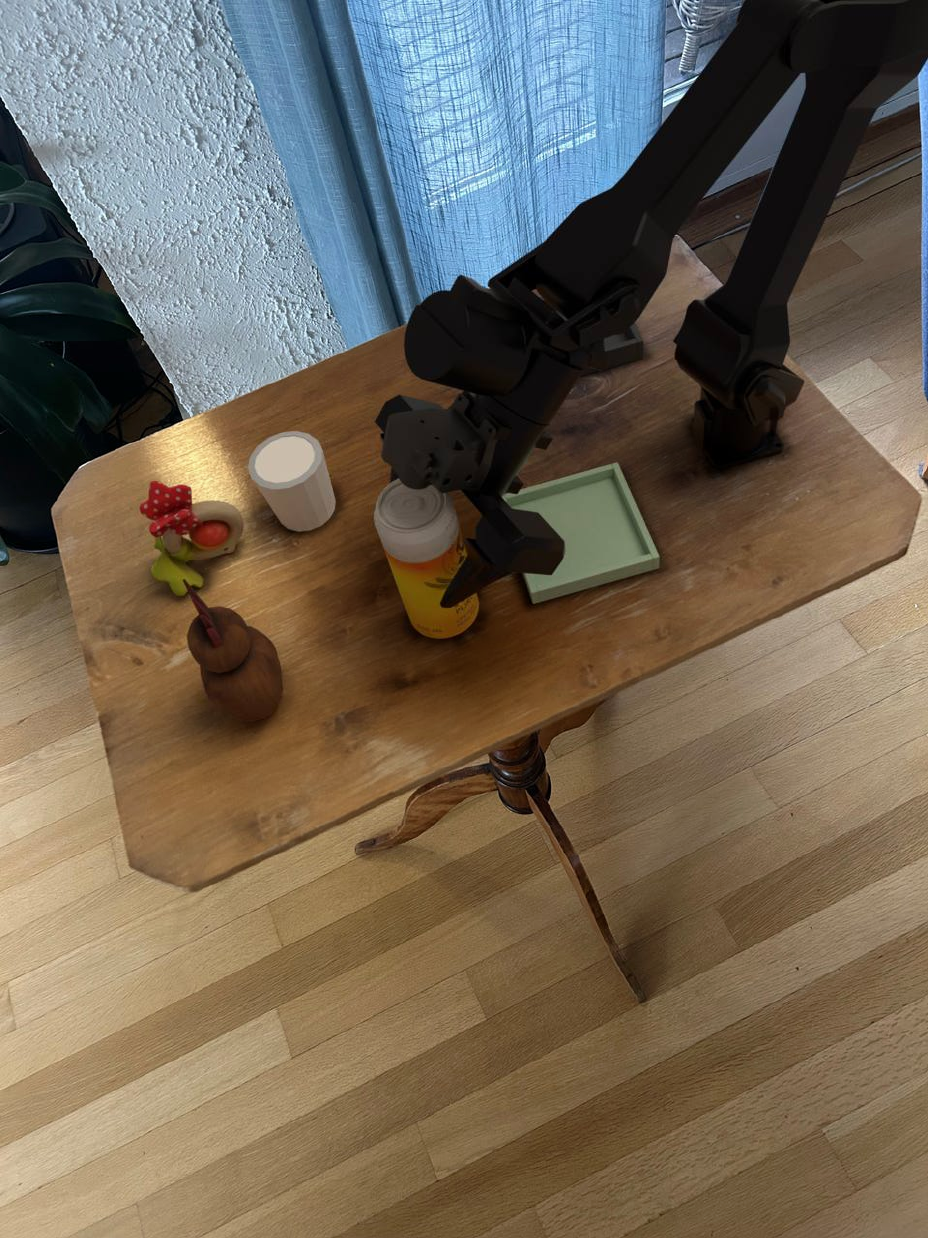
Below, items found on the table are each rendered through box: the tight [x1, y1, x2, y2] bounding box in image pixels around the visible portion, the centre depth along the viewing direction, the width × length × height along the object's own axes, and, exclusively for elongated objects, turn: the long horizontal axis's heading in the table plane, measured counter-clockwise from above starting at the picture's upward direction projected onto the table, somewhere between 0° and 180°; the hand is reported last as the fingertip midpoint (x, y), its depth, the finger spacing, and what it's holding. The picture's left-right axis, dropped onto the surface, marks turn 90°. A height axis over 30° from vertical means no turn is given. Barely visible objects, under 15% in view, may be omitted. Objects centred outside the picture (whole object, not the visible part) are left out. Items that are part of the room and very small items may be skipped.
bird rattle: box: [139, 480, 245, 597], centre depth 88 cm, size 6×11×9 cm
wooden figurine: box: [183, 579, 284, 722], centre depth 77 cm, size 7×6×15 cm
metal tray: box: [538, 296, 644, 377], centre depth 100 cm, size 11×10×2 cm
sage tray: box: [502, 462, 660, 605], centre depth 87 cm, size 11×11×2 cm
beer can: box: [373, 479, 480, 639], centre depth 79 cm, size 6×6×15 cm
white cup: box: [247, 430, 337, 533], centre depth 91 cm, size 7×7×7 cm
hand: (414, 568), depth 78 cm, fingers open, 9 cm apart
